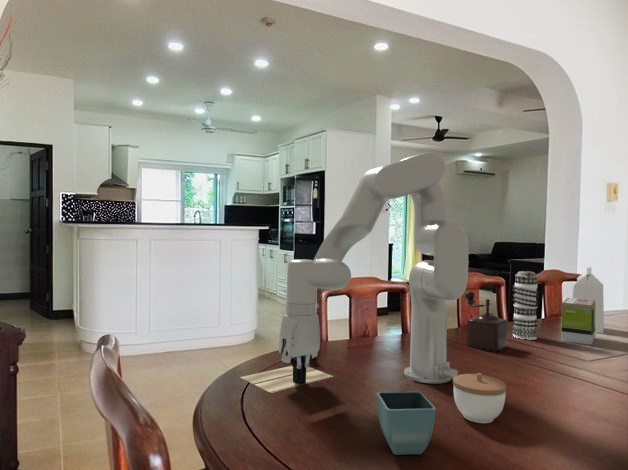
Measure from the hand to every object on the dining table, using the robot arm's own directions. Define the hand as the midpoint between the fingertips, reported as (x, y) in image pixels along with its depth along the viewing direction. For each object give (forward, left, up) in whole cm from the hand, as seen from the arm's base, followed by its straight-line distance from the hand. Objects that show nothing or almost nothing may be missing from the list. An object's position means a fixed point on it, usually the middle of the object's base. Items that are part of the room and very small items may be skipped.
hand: (299, 382), depth 114 cm
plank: (+2, 0, -1) cm, 2 cm away
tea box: (-22, -117, -2) cm, 119 cm away
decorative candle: (-8, -103, -1) cm, 104 cm away
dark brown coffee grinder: (-4, -78, -2) cm, 78 cm away
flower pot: (-36, +5, -1) cm, 37 cm away
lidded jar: (-37, -19, -1) cm, 42 cm away
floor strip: (+9, 0, -1) cm, 9 cm away
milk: (-17, -141, -2) cm, 142 cm away
